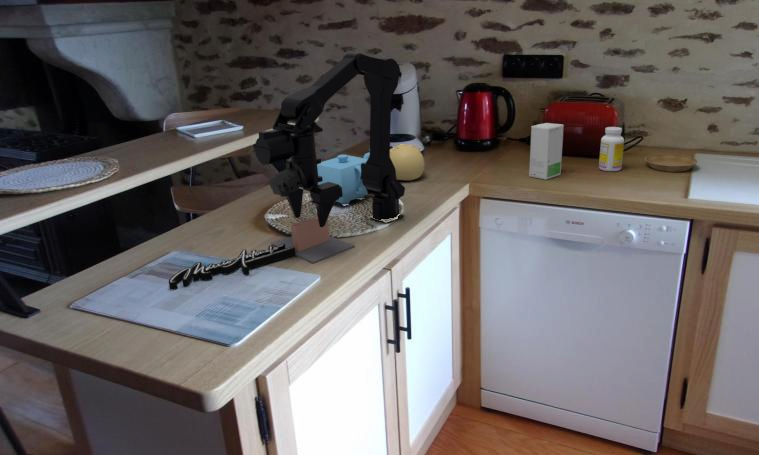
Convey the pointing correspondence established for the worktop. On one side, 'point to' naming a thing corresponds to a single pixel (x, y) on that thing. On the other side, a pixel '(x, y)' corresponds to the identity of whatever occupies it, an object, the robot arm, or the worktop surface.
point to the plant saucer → (670, 162)
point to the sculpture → (407, 161)
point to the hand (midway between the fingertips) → (309, 222)
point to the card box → (309, 233)
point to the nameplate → (231, 265)
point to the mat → (318, 249)
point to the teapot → (344, 175)
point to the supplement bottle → (611, 150)
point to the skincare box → (546, 150)
